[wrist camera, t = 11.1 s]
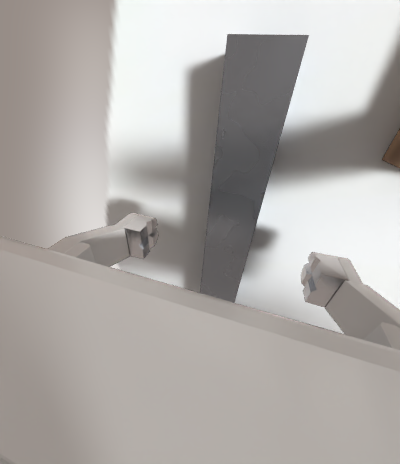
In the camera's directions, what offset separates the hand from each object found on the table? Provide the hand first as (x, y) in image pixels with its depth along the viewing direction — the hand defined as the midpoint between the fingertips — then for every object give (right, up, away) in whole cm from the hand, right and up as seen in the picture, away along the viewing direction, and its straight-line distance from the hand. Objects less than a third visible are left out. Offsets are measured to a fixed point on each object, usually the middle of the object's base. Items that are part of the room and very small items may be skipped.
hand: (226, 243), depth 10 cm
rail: (+1, +2, +2) cm, 3 cm away
